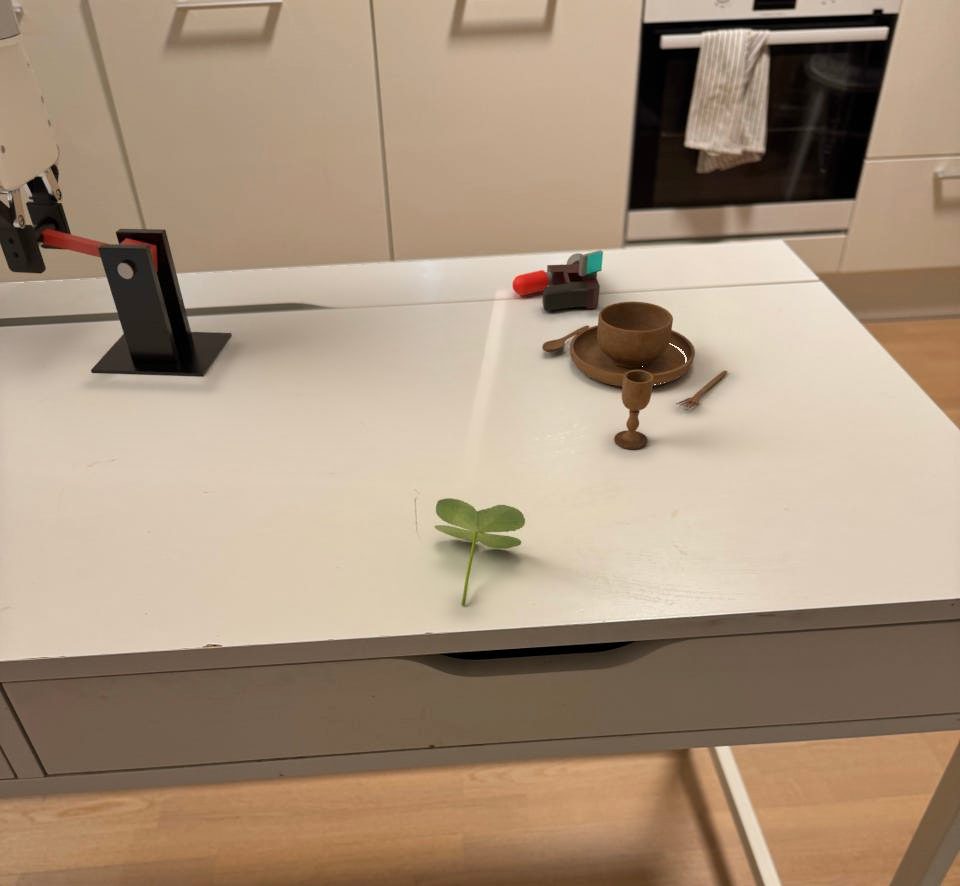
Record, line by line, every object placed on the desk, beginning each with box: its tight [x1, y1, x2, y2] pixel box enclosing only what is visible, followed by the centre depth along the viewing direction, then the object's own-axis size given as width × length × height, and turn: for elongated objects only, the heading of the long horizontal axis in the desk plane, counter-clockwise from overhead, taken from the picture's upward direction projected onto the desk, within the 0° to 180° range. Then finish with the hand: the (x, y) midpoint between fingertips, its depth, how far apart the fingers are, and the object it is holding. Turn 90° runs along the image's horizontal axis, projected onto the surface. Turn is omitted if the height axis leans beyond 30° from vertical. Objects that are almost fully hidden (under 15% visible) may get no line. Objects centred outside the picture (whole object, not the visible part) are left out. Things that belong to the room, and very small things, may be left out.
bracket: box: [90, 228, 232, 378], centre depth 82 cm, size 11×9×12 cm
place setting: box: [541, 301, 728, 450], centre depth 80 cm, size 18×20×6 cm
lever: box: [32, 216, 158, 272], centre depth 79 cm, size 11×5×2 cm, turn 85°
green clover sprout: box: [434, 497, 526, 607], centre depth 60 cm, size 7×8×6 cm
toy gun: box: [512, 250, 604, 312], centre depth 96 cm, size 10×12×5 cm
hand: (42, 257), depth 80 cm, fingers closed on lever, 5 cm apart
